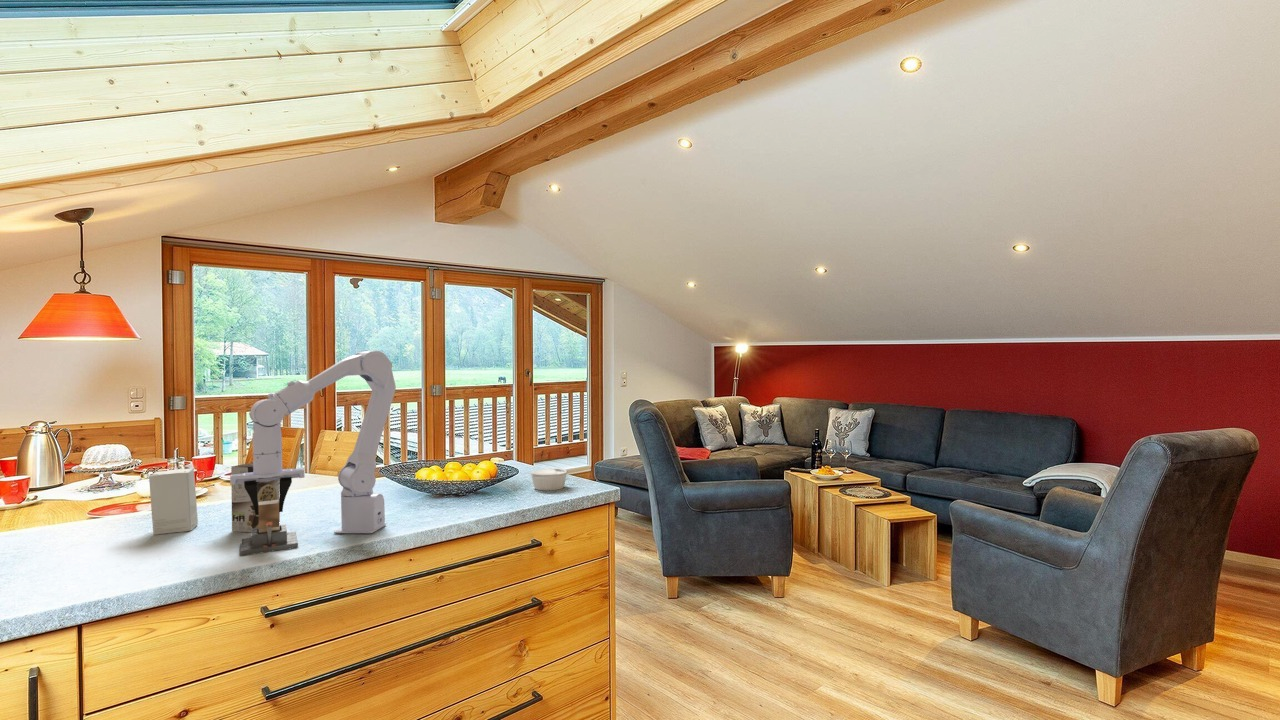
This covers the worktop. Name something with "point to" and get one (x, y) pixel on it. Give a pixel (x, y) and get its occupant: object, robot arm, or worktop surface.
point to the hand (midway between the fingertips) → (269, 512)
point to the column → (269, 515)
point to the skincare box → (173, 501)
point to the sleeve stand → (268, 540)
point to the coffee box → (249, 500)
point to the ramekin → (549, 479)
